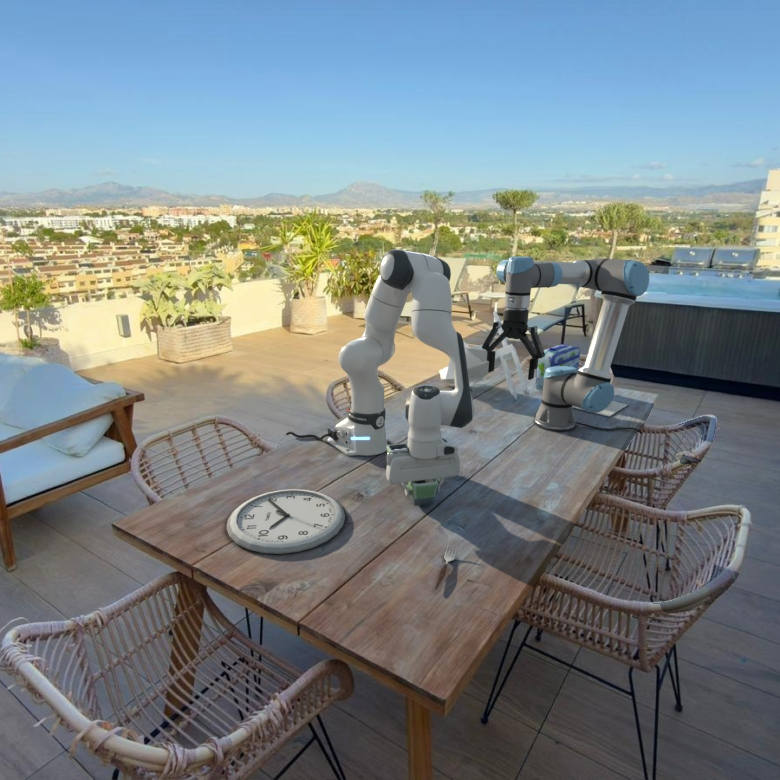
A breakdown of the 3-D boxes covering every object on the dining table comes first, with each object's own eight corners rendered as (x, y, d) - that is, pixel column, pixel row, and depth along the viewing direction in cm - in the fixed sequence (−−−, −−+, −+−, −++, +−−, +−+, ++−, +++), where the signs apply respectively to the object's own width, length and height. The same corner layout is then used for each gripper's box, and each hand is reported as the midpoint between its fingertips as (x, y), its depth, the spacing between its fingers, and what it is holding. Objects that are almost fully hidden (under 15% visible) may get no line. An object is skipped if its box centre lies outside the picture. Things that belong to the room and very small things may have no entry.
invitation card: (608, 416, 214) (573, 407, 224) (608, 416, 214) (573, 408, 224) (628, 404, 229) (594, 396, 238) (628, 405, 229) (594, 397, 238)
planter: (385, 465, 165) (385, 444, 163) (406, 463, 167) (407, 442, 165) (412, 509, 140) (413, 485, 138) (437, 506, 142) (439, 482, 140)
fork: (429, 589, 110) (429, 581, 109) (447, 548, 124) (448, 541, 124) (441, 592, 109) (441, 584, 108) (458, 550, 123) (459, 543, 123)
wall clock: (345, 545, 122) (213, 550, 119) (345, 551, 122) (214, 556, 120) (344, 484, 150) (238, 487, 148) (345, 490, 151) (239, 492, 148)
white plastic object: (461, 429, 252) (437, 405, 227) (444, 352, 274) (420, 323, 250) (535, 404, 240) (518, 377, 215) (510, 326, 262) (492, 293, 237)
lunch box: (552, 397, 237) (557, 352, 231) (531, 392, 245) (535, 348, 238) (579, 386, 255) (584, 344, 249) (558, 381, 262) (563, 340, 256)
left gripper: (389, 455, 133) (389, 503, 137) (463, 447, 139) (460, 493, 143) (383, 445, 139) (382, 492, 143) (454, 438, 144) (451, 483, 149)
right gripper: (474, 305, 165) (470, 370, 171) (551, 314, 151) (543, 384, 157) (485, 303, 170) (480, 366, 177) (560, 311, 156) (552, 379, 163)
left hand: (422, 493), depth 143 cm, fingers closed on planter, 6 cm apart
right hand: (510, 375), depth 167 cm, fingers open, 13 cm apart
